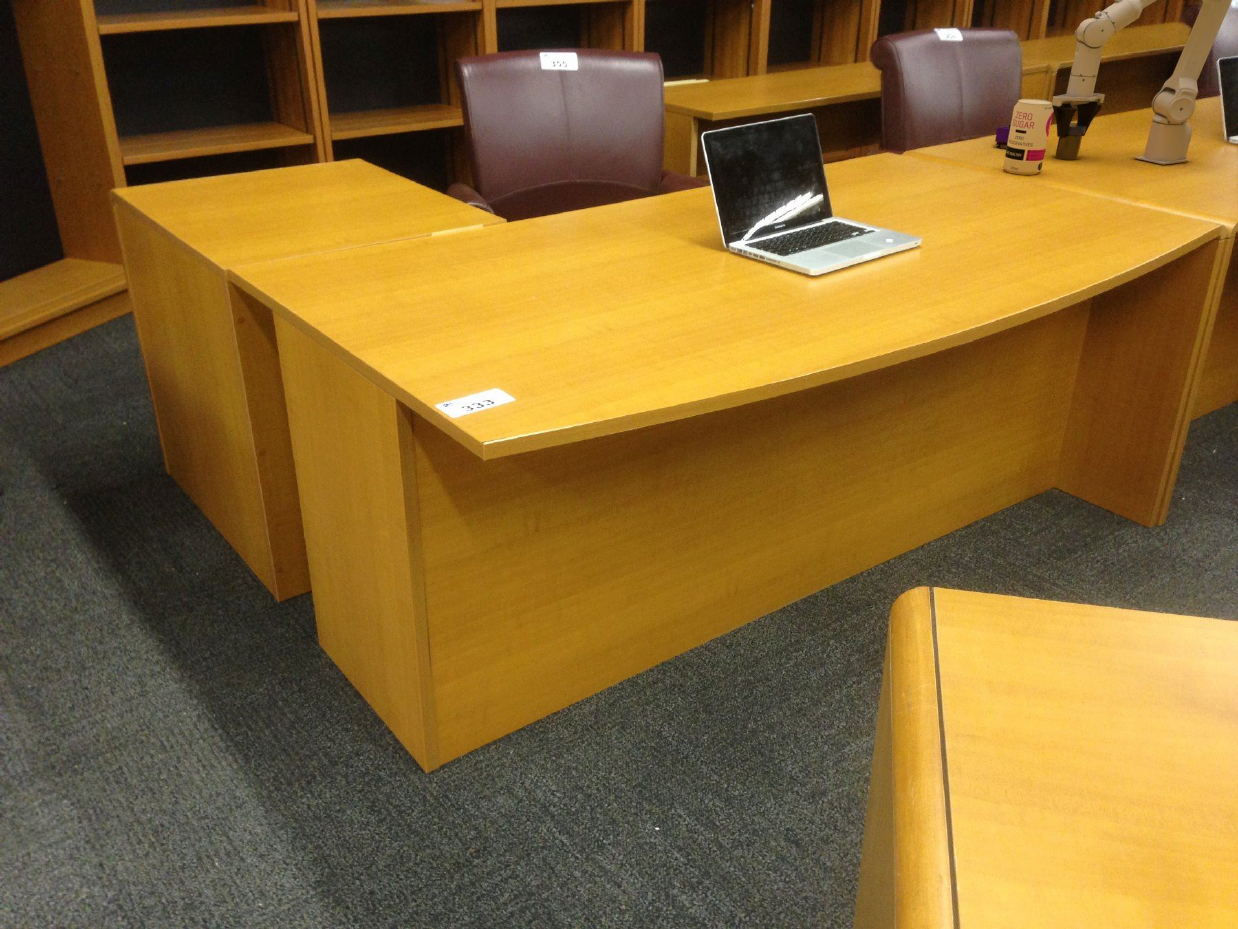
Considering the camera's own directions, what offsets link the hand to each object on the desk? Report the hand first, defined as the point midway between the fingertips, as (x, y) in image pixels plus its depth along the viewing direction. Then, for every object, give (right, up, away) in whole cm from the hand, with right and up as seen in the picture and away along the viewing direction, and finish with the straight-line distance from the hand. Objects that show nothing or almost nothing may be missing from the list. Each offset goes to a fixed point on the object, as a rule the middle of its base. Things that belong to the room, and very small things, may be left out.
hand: (1070, 136), depth 247 cm
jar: (0, -4, +2) cm, 5 cm away
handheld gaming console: (-6, +3, +16) cm, 17 cm away
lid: (0, +2, -1) cm, 2 cm away
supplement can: (-16, -12, -12) cm, 23 cm away
